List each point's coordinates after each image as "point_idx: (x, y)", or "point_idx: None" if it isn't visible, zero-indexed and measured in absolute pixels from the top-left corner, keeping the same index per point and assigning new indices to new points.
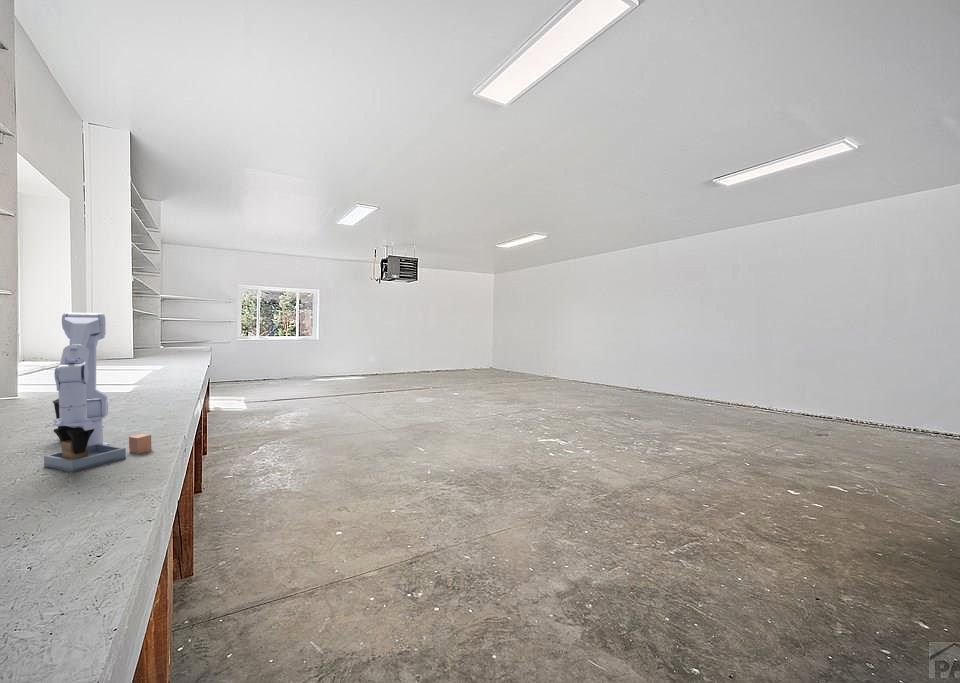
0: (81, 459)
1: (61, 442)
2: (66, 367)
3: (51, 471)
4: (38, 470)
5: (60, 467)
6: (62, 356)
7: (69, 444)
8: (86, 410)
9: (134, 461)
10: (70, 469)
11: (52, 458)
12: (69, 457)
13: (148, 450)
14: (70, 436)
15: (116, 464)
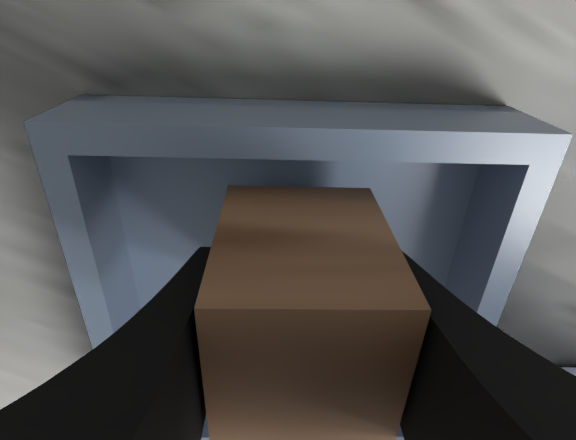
0: (50, 200)
1: (465, 310)
2: None
3: (290, 40)
4: (443, 13)
5: (266, 104)
6: None
7: (224, 293)
8: None
9: (9, 366)
10: (107, 100)
11: (406, 127)
12: (251, 199)
13: None
14: (105, 415)
15: (31, 305)
